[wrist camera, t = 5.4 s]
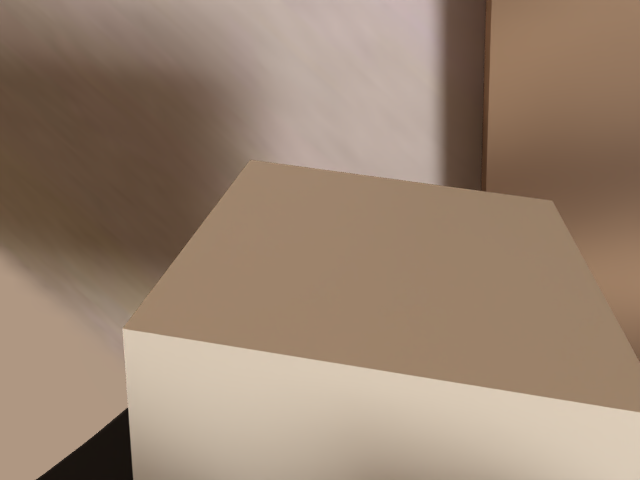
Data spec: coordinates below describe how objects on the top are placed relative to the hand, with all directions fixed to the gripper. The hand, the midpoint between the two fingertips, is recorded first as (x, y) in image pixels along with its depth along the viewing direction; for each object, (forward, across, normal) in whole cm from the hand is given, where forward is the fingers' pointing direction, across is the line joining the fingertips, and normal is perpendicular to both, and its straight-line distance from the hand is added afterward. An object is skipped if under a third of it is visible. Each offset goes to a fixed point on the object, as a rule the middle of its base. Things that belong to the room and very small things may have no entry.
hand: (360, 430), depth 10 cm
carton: (+2, 0, 0) cm, 2 cm away
